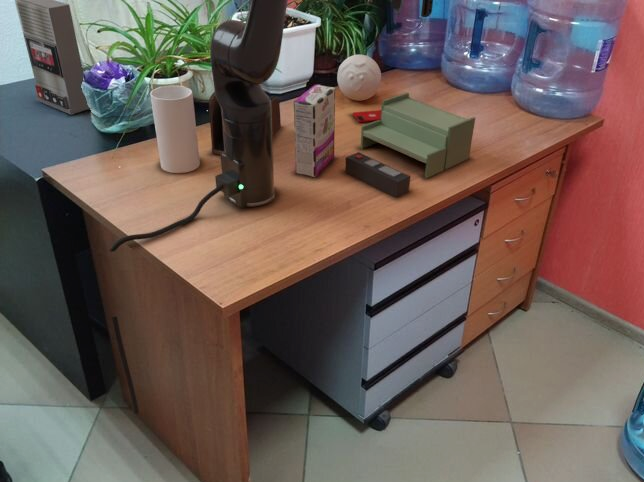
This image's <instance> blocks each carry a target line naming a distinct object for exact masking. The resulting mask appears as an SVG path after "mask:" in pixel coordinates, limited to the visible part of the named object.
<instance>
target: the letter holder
mask: <svg viewBox="0 0 644 482" xmlns="http://www.w3.org/2000/svg"><path fill="white" fill-rule="evenodd" d="M260 86H261V87H262V84H260ZM270 100H271V106H272V137H273V138H274V135H275V134H276V133H277V131H278V130H279V129H280V128H281V127H282V123H281V109H280V108H281V106H280V105H281V103H280V98H279V96H275V97H274V98H273V97H272V98H271V99H270ZM208 113H209V126H210V128H209V129H210V140H211V153H212V155H215V156H220V155H221V153H224V140H223V127H222V114H221V107H220V105H219V103H218V101H217V98H216V95H215V91H213V92H212V93H211V95H210V96H209V99H208Z"/></svg>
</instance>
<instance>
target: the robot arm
mask: <svg viewBox="0 0 644 482" xmlns="http://www.w3.org/2000/svg"><path fill="white" fill-rule="evenodd" d="M288 1H289V0H249V5H248V10H247V15H246V20H245V22H244V21H242V20H237V19H230V20H225V21H223V22H221V23H220V24H219V25H218V26H217V27H216V28H215V30H214V32H213V34H212V36H211V40H210V47H209V55H210V65H211V74H212V75H211V76H212V81H213V89H214V92H215V95H216V98H217V101H218V103H219V105H220V107H221V114H222V127H223V140H224V153H221V155H219V156H220V167H221V168H220V169H221V173H220V174H216V175H215V176H214V179H215V188H214V189H212V190H211V191H209V192H208V193H207V194H206V195H205V196H204V197H203V198H202V199H201V200H199V202H198V204H197V205H196V207H195V209H194V211H192V213H190V215H188V216H187V217H185V218H183V219H181V220H178V221H176V222H173V223H171V224H169V225H167V226H164V227H161V228H160V229H158V230H154V231H151V232H146V233H139V234H130V235H126V236H123V237H121V238H119V239H117V241H115V242H114V243H113V245H111V247H110V248H109V252H111V253H113V252H116V251H117V249H118V248H119V247H120V246H121V245H123V244H125V243H127V242H130V241H136V240H137V241H139V240H146V239H152V238H155V237H158V236H160V235H164V234H166V233H168V232H170V231H172V230H173V229H176V228H178V227H180V226H183V225H186V224H188V223H189V222H192V221H193V220H194V219H195V218H196V217H197V216H198V215H199V213H200V212H201V210H202V208H203V207H204V205H206V203H207V202H208V201H209V200H210V199H212V197H214V196H215V195H216V194H218V193H219V192H221V193H222V194H223V198H224V199H226V200H228V201H229V202H230V203H232V204H233V205H236V206H237V207H239V208H240V209H245V208H251V207H261V206H264V205H267V204H269V203H271V202H272V201H273V200H274V199H275V197H276V190H275V173H274V172H275V171H274V146H273V145H274V140H273V138H274V136H273V137H272V106H271V100H272V99H271V98H270V97H269V95H268V94H267V93H266V91H264V89H263V88H262V84H264V83H265V82H267V81H269V79H270V78H271V77H272V76H273V74H274V73H275V71H276V68H277V66H278V64H279V60H280V54H281V50H282V43H283V35H284V29H285V21H286V13H287V6H288ZM401 2H402V0H390V7H391V9H393V10H397V9H400V8H401V5H402V3H401ZM433 4H434V0H422V3H421V12H420V16H421V17H422V18H429V17H430V16H431V14H432V13H433ZM260 85H261V86H260ZM111 320H112V325H113V330H114V335H115V340H116V344H117V348H118V352H119V356H120V359H121V364H122V367H123V371H124V373H125V379H126V382H127V387H128V391H129V394H130V395H129V396H130V399H131V402H132V408H133V413H134V415H137V414H139V413H140V410H139V405H138V400H137V396H136V390H135V387H134V383H133V379H132V375H131V371H130V367H129V363H128V360H127V355H126V352H125V348H124V343H123V340H122V336H121V330H120V326H119V325H120V324H119V319H118V316H111Z"/></svg>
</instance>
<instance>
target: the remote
mask: <svg viewBox="0 0 644 482" xmlns="http://www.w3.org/2000/svg"><path fill="white" fill-rule="evenodd" d="M344 168H345V169H344V173H345V174H348V175H350V176H352V177H354V178H356V179H358V180H360V181H363V182H364V183H365V184H366V183H367V184H368V185H370V186H372V187H374V188H376V189H378V190H380V191H382V192H384V193H387V194H388V195H391V196H392V197H394V198H398V197H400V196H402V195H405V194H407V193H409V192H410V184H411V175H408V174H407V173H405V172H402V171H401V170H398V169H396V168H394V167H391V166H390V165H388V164H386V163H383V162H381V161H379V160H377V159H374V158H372V157H370V156H368V155H366V154H364V153H362V152H360V151H357V152H355V153H352V154H350V155H348V156H345V167H344Z"/></svg>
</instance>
